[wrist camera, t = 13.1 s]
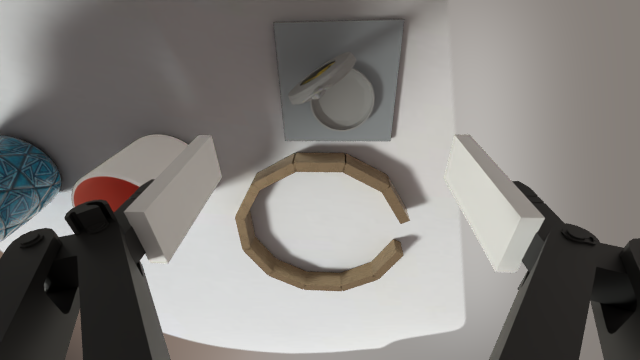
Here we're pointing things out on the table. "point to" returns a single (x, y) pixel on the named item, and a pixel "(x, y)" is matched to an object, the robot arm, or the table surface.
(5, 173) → the lamp
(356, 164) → the c ring
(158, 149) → the cup
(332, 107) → the pocket watch
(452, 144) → the robot arm
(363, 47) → the coaster
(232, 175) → the table surface
